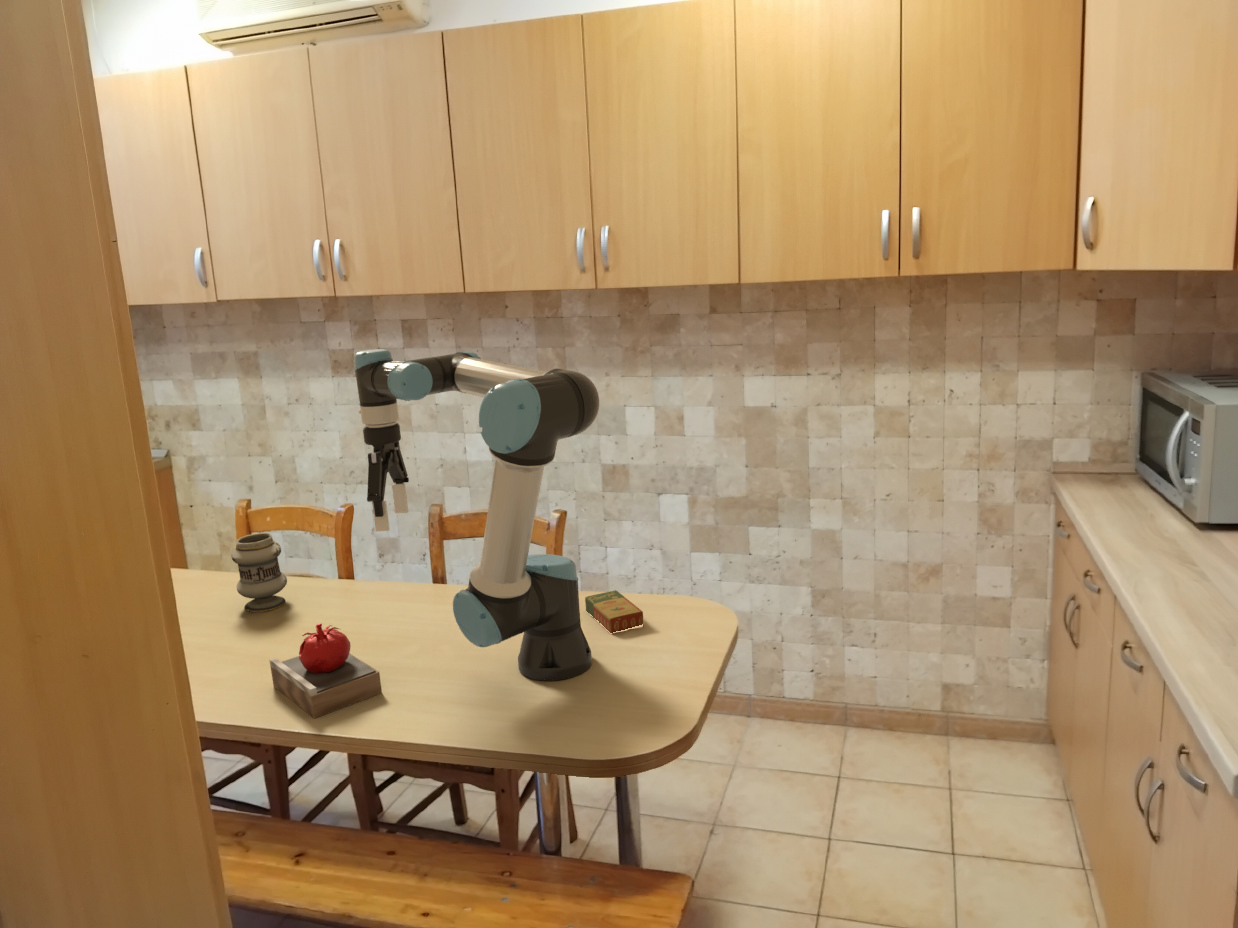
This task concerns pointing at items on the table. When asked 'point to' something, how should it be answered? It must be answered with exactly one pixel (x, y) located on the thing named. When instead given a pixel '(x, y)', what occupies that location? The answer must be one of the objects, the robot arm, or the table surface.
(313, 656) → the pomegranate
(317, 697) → the tray
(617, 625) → the carton
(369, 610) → the table surface
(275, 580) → the apothecary jar
